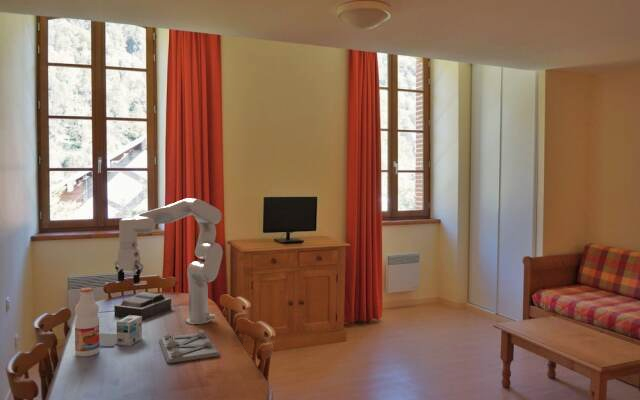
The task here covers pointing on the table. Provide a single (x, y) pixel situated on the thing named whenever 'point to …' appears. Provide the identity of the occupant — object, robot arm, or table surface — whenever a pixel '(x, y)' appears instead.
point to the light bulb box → (129, 330)
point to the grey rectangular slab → (187, 347)
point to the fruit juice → (86, 324)
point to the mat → (107, 340)
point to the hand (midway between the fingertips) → (128, 282)
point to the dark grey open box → (143, 305)
